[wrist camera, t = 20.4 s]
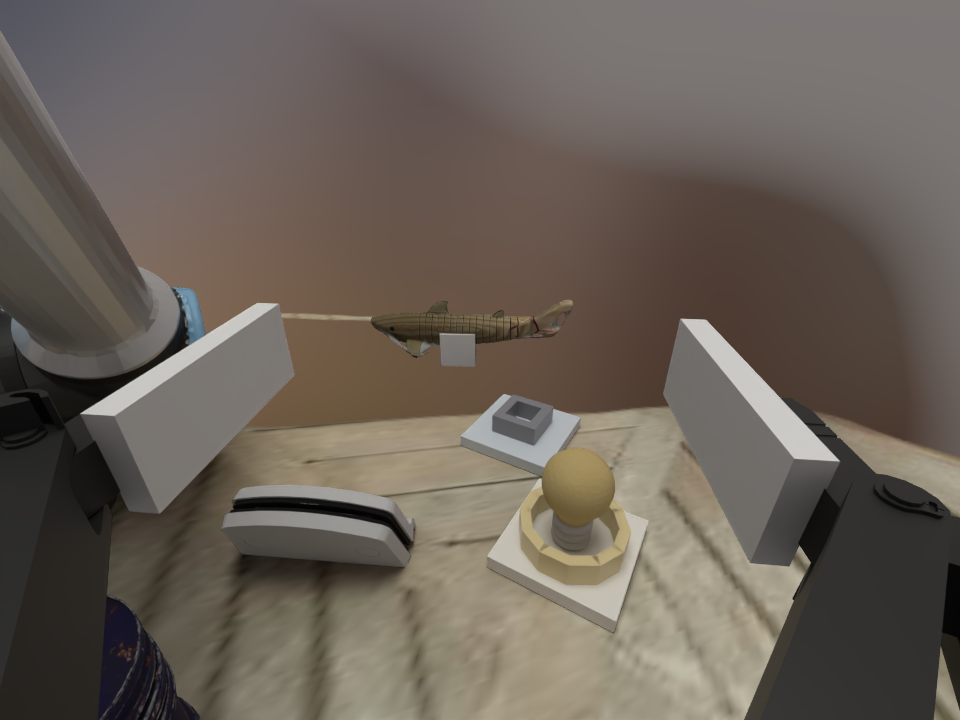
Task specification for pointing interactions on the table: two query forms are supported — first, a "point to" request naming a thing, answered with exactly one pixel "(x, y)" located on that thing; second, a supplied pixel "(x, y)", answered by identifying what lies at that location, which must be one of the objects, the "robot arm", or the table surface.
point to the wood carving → (465, 330)
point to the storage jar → (135, 672)
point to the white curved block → (319, 525)
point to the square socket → (521, 432)
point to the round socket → (571, 559)
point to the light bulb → (576, 494)
